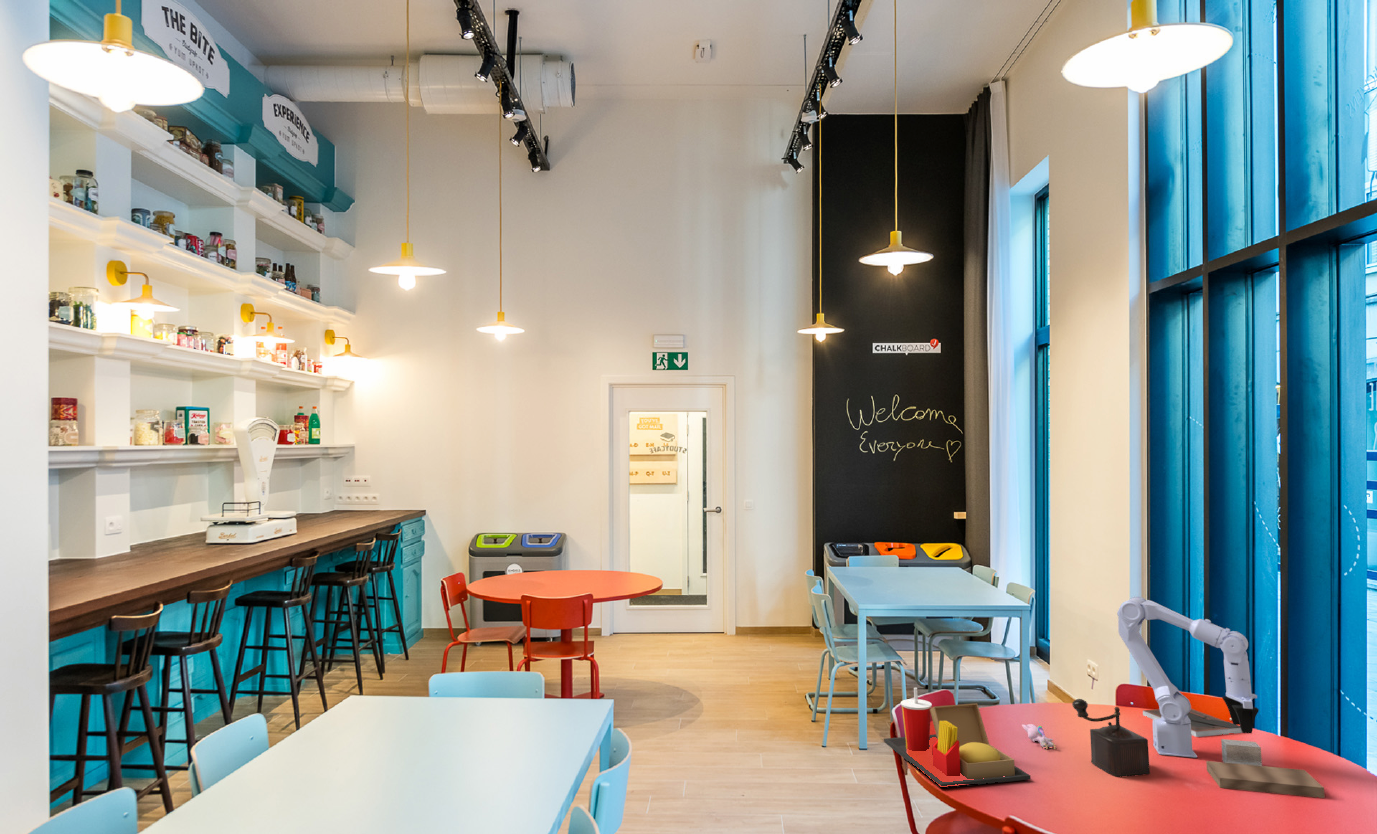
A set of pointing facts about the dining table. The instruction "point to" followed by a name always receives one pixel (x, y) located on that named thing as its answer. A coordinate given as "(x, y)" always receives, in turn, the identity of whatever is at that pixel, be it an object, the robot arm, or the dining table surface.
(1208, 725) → the picture frame
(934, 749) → the fast food meal
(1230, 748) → the aluminium block
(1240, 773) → the walnut plinth
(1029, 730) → the unicorn plush toy
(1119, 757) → the dark brown coffee grinder
